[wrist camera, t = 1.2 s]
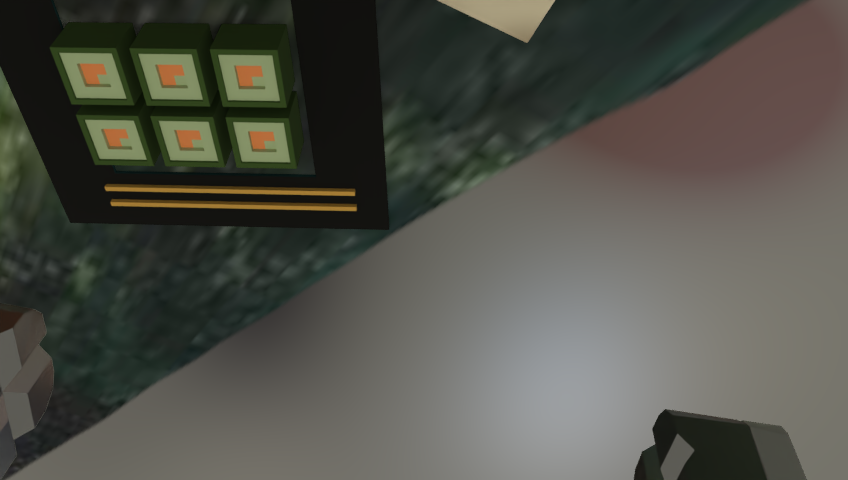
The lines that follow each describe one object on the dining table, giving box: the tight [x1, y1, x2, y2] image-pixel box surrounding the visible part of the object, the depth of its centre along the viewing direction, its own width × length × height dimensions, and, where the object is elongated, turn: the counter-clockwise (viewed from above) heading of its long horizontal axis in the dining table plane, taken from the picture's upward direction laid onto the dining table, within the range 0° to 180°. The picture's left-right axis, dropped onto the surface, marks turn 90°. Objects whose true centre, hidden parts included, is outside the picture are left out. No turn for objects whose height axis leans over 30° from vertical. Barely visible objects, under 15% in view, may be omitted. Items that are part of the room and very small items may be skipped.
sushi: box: [0, 0, 389, 230], centre depth 51 cm, size 25×25×4 cm
